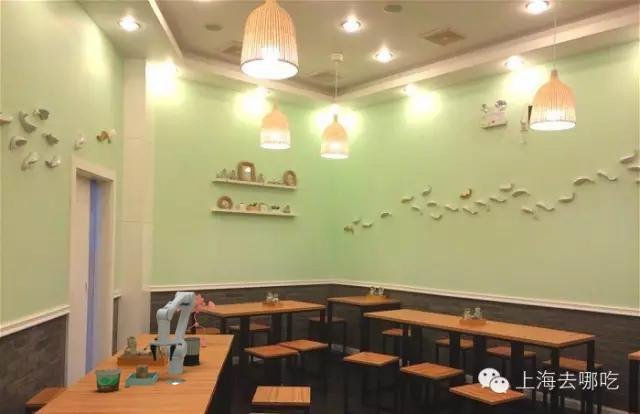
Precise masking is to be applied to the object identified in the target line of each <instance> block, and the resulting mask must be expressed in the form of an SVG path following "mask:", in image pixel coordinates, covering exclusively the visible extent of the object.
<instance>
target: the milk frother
mask: <svg viewBox="0 0 640 414" xmlns="http://www.w3.org/2000/svg"><path fill="white" fill-rule="evenodd" d="M201 339H202V337H197V336H188V337H184V341H185V342H186V343H187V353H186V355H185V357H183V366H185V365H186V367H195V366H194V365H197V366H199V365H200V364H199V363H200V351H201V346H200V345H201ZM198 364H199V365H198Z"/></svg>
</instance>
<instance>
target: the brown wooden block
mask: <svg viewBox="0 0 640 414" xmlns="http://www.w3.org/2000/svg"><path fill="white" fill-rule="evenodd" d="M135 373H136V379H147V378H148V373H149V364H138V366H136V367H135Z"/></svg>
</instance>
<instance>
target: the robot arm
mask: <svg viewBox="0 0 640 414" xmlns="http://www.w3.org/2000/svg"><path fill="white" fill-rule="evenodd" d="M196 296H197V294H196V293H195V292H194V291H177V292H176V293H175V295H174V299H173V300H172V301H168V303H166V305H165V306H164V307H163V308H159V309H157V312H156V315H155V316H156V324H157V341H148V342H147V343H148V344H147V346H148V347H149V349H150V351H151V354H152V358H153V362H156V361H157V348H158V347H165V356H166V357H167V359H168V371H167V373H168V375H171V376H177V375H182V374H183V373H185V371H184V365H183V361H184V357H185V355H186V353H187V343H186V342H185V341H184V340H185V339H184V338H185V334H186V331H187V327H188V324H189V320H190V315H191V313H190V312H191V310H192V309H193V308H194V305H195V301H196ZM178 308H179V309H181V310H180V315H179V318H178V322H177V326H176V329H175V332H174V337H173V338H171V337H170V336H171V335H170V333H171V321H172V319H173V316H174V314H175V313H176V312H177V309H178ZM170 338H171V339H170Z"/></svg>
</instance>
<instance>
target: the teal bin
mask: <svg viewBox="0 0 640 414" xmlns="http://www.w3.org/2000/svg"><path fill="white" fill-rule="evenodd" d="M159 374H160V373H159V372H156V371H155V372H148V378H147V379H136V372H131V373H130V374H129V375H128V376H127V377H126V378H125V387H124V388H130V387H131V386H154V385H155V384H156V383H157V382H158V380H159V378H160V377H159Z"/></svg>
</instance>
